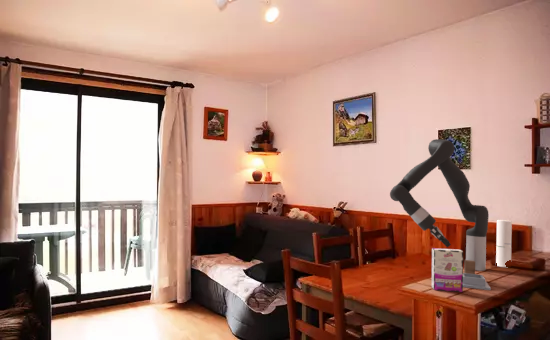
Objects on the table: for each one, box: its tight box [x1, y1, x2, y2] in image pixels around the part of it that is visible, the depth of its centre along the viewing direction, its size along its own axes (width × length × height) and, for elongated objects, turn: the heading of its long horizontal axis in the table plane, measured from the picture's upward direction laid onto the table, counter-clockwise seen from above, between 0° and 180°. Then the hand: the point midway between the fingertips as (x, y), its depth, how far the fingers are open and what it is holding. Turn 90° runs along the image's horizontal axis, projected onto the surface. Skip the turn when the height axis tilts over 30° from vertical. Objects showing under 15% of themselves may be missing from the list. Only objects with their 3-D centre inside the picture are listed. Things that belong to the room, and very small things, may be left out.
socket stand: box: [463, 272, 491, 291], centre depth 168 cm, size 12×12×4 cm
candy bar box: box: [431, 247, 464, 293], centre depth 159 cm, size 11×5×16 cm, turn 80°
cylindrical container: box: [495, 219, 513, 268], centre depth 215 cm, size 7×7×25 cm
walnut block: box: [463, 259, 476, 274], centre depth 179 cm, size 4×4×8 cm
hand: (448, 244), depth 182 cm, fingers open, 8 cm apart
